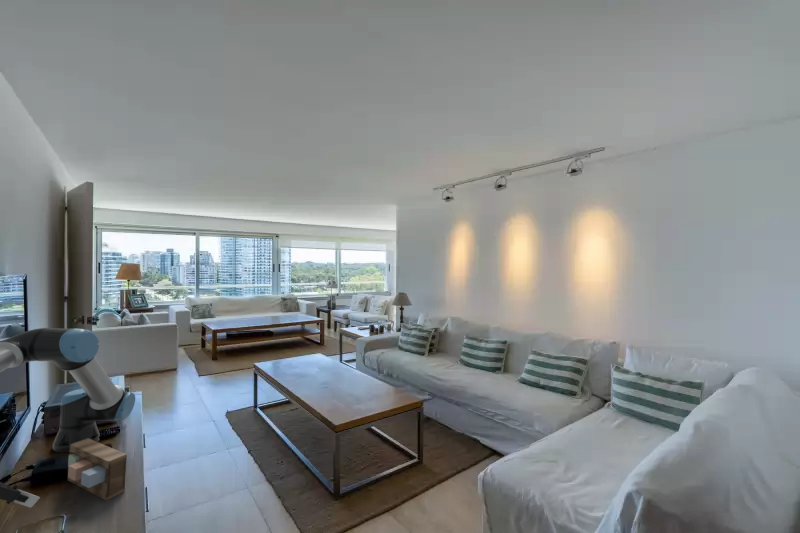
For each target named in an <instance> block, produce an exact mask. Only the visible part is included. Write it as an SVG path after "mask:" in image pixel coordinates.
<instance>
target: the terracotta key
mask: <svg viewBox="0 0 800 533" xmlns="http://www.w3.org/2000/svg"><path fill="white" fill-rule="evenodd" d="M92 464H93V462H92V461H90V460H87V459H85V460H82V461H79V462H77V463H74V464H72V465H69V466H68V465H67V467H68V468H67V479H68V478H70V479H72V480H74V481H77V480H79V479H81V474H82V472H83V471H86V470H88V469H90V468H92Z"/></svg>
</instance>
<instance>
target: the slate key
mask: <svg viewBox="0 0 800 533" xmlns="http://www.w3.org/2000/svg"><path fill="white" fill-rule="evenodd" d="M105 478H106V468H105V467H103V466H100V465H98V466H95V467H93V468H90V469H88V470H86V471H83V472H82V474H81V485H83V486H85V487H87V488H90V487H92V486H94V485H97V484H99V483H101V482H103V481H105Z"/></svg>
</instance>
